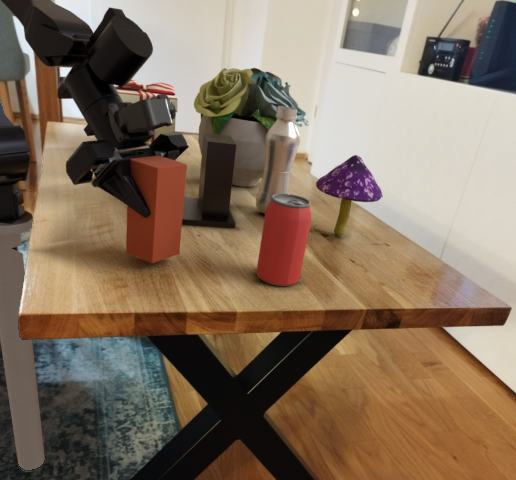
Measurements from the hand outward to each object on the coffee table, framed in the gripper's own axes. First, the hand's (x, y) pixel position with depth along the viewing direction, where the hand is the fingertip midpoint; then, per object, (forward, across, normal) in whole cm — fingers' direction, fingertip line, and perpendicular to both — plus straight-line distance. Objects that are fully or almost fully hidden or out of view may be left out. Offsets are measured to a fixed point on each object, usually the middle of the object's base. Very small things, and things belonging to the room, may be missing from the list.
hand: (163, 211), depth 70 cm
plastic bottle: (+4, +37, +8) cm, 38 cm away
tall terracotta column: (+4, 0, +6) cm, 7 cm away
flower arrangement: (-8, +52, +20) cm, 56 cm away
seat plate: (-4, +22, +15) cm, 27 cm away
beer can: (+16, +10, -4) cm, 19 cm away
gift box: (-30, +52, +42) cm, 73 cm away
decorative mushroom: (+15, +37, -3) cm, 40 cm away
